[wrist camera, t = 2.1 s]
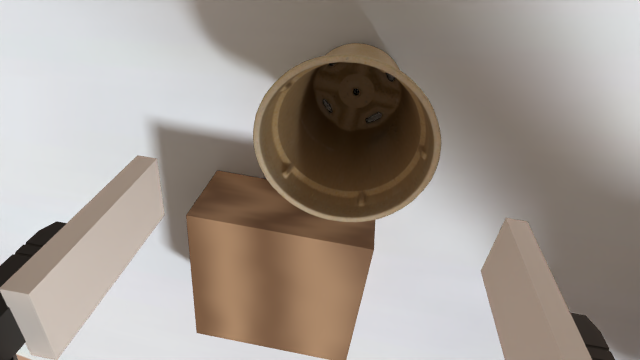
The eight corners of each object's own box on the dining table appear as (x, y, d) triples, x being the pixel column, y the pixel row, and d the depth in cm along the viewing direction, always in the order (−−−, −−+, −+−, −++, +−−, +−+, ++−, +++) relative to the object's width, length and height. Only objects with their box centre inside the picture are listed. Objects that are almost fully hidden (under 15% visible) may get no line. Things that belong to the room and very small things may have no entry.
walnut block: (376, 198, 32) (373, 249, 27) (351, 306, 39) (345, 362, 34) (217, 170, 33) (186, 215, 28) (221, 281, 40) (196, 332, 35)
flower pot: (370, 173, 31) (364, 249, 24) (264, 104, 29) (223, 164, 22) (458, 74, 26) (484, 132, 19) (337, -16, 24) (315, 10, 17)
